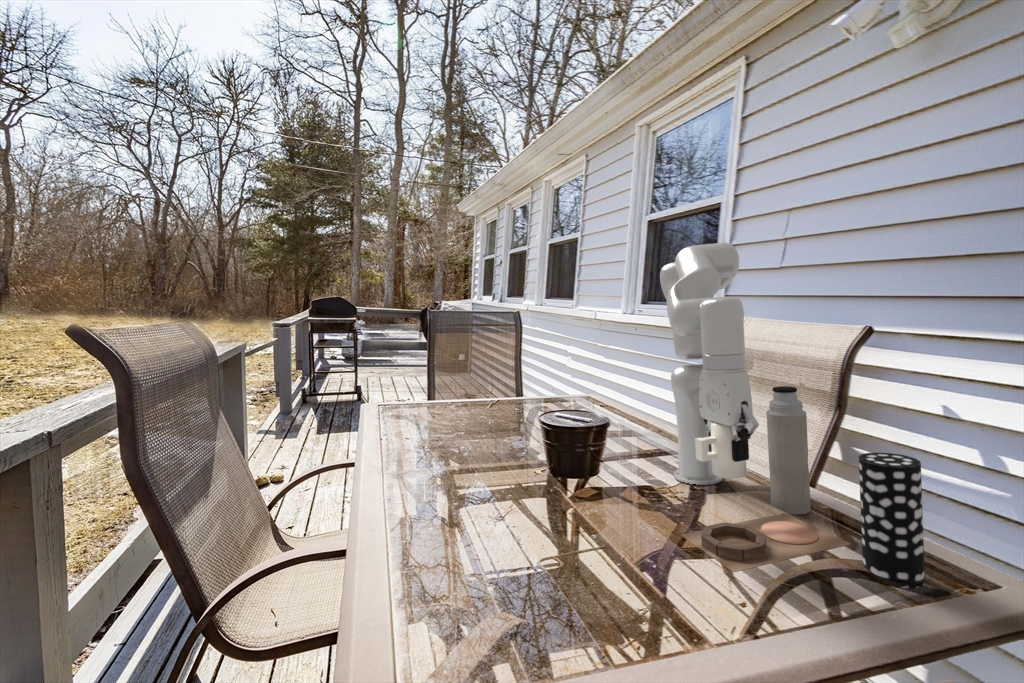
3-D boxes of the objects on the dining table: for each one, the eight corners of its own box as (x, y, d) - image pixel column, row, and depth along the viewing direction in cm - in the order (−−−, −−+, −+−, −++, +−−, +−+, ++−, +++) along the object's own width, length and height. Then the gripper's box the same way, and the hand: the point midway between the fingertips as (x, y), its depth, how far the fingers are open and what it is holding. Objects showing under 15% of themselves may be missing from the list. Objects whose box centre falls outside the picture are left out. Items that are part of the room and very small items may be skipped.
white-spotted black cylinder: (911, 565, 86) (908, 453, 85) (934, 591, 79) (930, 468, 78) (856, 560, 89) (851, 452, 88) (872, 585, 81) (868, 466, 80)
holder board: (680, 540, 102) (679, 525, 102) (784, 518, 108) (783, 503, 108) (733, 578, 86) (732, 560, 86) (851, 550, 93) (850, 533, 93)
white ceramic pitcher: (737, 465, 99) (735, 416, 99) (759, 474, 93) (757, 422, 93) (690, 473, 97) (687, 423, 96) (710, 483, 91) (707, 429, 90)
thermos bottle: (803, 500, 117) (797, 383, 115) (816, 514, 109) (810, 389, 108) (766, 500, 118) (760, 385, 117) (777, 514, 111) (771, 390, 109)
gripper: (680, 361, 101) (685, 447, 102) (738, 369, 85) (743, 471, 86) (711, 357, 103) (716, 442, 104) (775, 364, 87) (779, 465, 88)
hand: (728, 454), depth 95 cm, fingers closed on white ceramic pitcher, 6 cm apart
